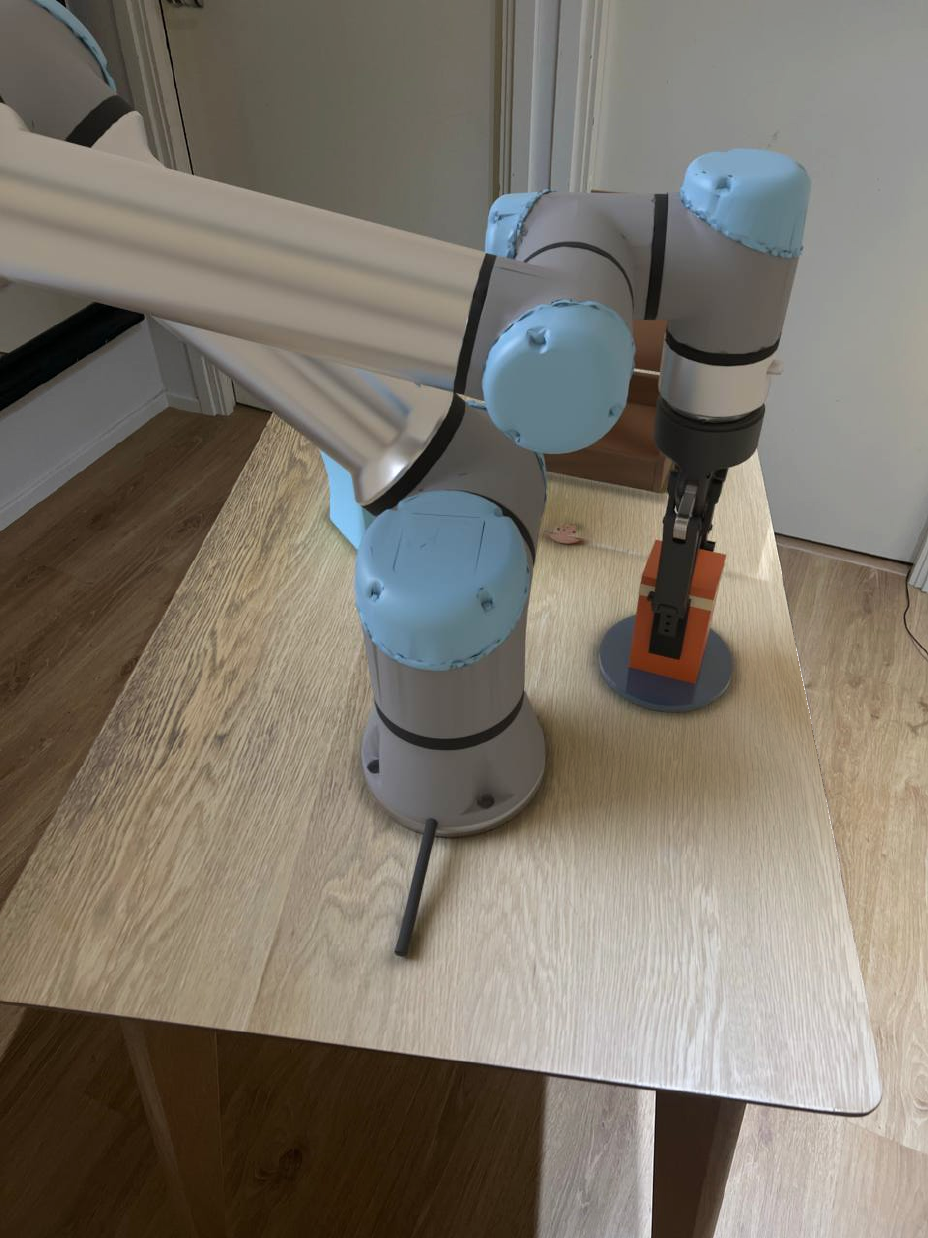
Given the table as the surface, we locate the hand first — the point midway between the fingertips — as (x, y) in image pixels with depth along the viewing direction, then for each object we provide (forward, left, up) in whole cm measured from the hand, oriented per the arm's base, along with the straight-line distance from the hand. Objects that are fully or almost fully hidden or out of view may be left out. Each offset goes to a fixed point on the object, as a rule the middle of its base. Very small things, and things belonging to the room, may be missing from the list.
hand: (671, 631), depth 79 cm
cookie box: (0, 0, -3) cm, 3 cm away
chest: (+34, +14, -4) cm, 37 cm away
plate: (0, 0, -4) cm, 4 cm away
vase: (+11, +34, -4) cm, 36 cm away
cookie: (+15, +14, -4) cm, 21 cm away
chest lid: (+45, +14, +11) cm, 48 cm away
